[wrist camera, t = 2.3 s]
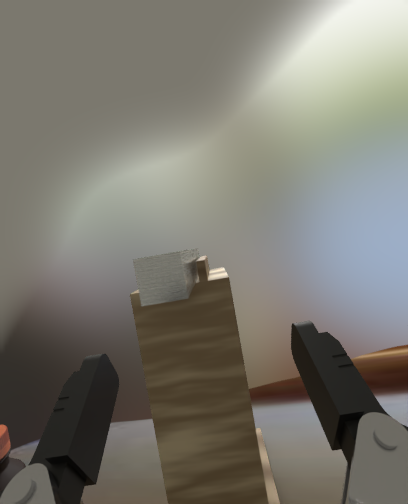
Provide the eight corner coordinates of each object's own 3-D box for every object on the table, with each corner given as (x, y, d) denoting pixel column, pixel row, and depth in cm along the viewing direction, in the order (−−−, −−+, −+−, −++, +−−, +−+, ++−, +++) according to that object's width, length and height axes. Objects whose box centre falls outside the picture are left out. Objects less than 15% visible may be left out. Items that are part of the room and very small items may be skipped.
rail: (188, 298, 21) (179, 251, 21) (141, 306, 21) (133, 259, 21) (201, 269, 47) (197, 248, 47) (180, 273, 47) (176, 252, 47)
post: (291, 552, 29) (239, 254, 28) (162, 569, 29) (108, 277, 29) (262, 438, 46) (229, 251, 45) (180, 450, 46) (147, 265, 46)
